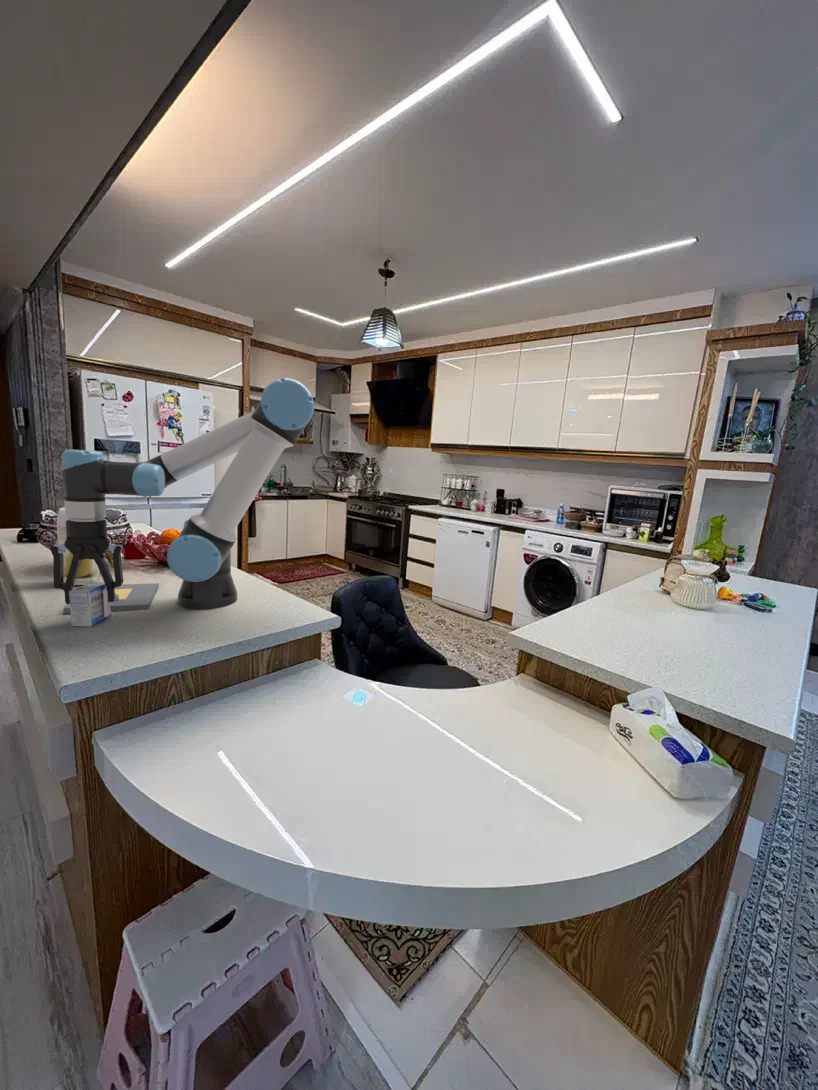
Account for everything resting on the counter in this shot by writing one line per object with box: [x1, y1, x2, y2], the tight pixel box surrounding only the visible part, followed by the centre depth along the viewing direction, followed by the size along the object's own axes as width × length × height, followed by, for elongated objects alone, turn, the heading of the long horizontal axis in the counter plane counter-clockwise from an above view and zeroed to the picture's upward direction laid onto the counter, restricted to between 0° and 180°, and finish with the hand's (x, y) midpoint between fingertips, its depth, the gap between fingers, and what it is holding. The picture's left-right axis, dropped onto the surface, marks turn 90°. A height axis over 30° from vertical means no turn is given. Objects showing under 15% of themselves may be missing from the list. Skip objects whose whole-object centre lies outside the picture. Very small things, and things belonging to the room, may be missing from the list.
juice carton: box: [56, 505, 101, 587], centre depth 128 cm, size 9×8×24 cm
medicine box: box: [69, 581, 112, 628], centre depth 103 cm, size 8×4×9 cm, turn 5°
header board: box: [63, 582, 160, 615], centre depth 119 cm, size 18×20×4 cm
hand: (91, 615), depth 104 cm, fingers closed on medicine box, 6 cm apart
